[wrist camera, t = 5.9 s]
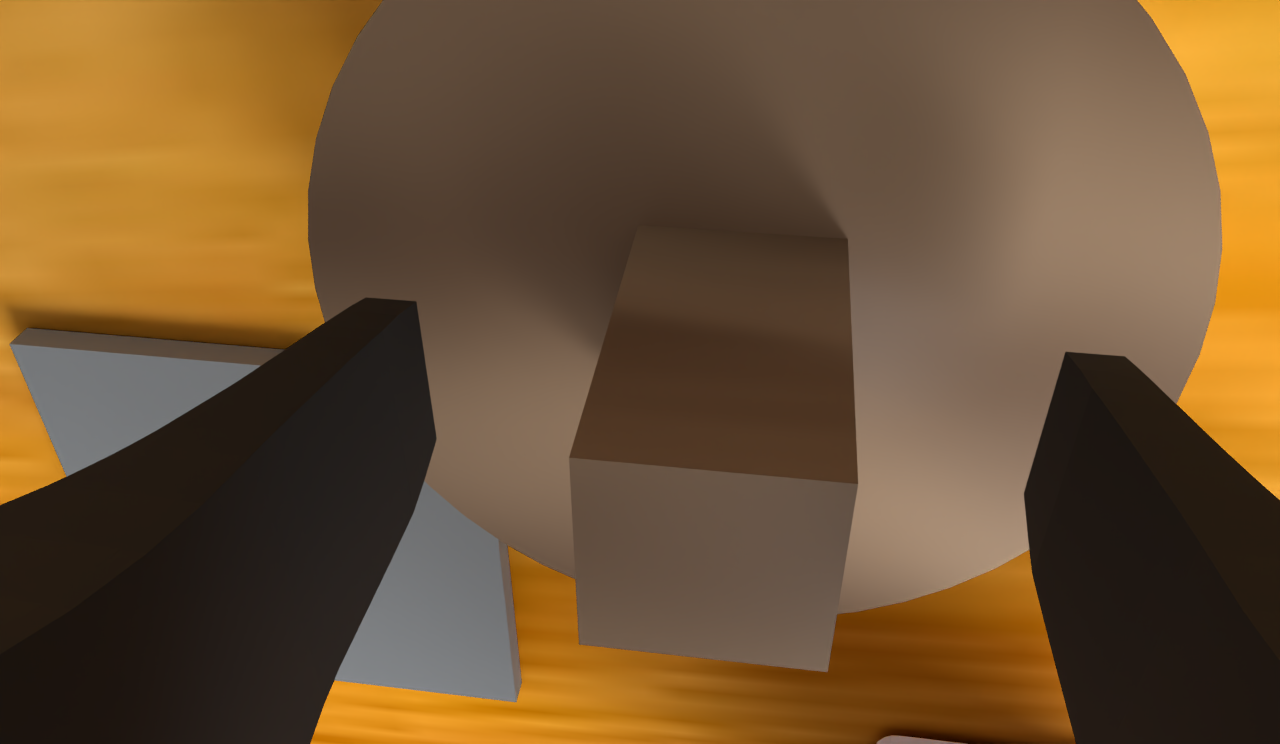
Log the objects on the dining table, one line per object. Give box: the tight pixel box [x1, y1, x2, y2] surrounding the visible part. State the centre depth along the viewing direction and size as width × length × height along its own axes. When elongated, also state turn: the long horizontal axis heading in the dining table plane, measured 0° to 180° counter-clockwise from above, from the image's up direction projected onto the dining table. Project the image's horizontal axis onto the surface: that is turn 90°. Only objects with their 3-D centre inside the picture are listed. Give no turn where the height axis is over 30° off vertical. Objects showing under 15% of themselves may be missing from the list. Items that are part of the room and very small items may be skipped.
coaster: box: [10, 328, 522, 702], centre depth 24 cm, size 10×10×1 cm
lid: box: [308, 0, 1222, 672], centre depth 12 cm, size 12×12×5 cm
